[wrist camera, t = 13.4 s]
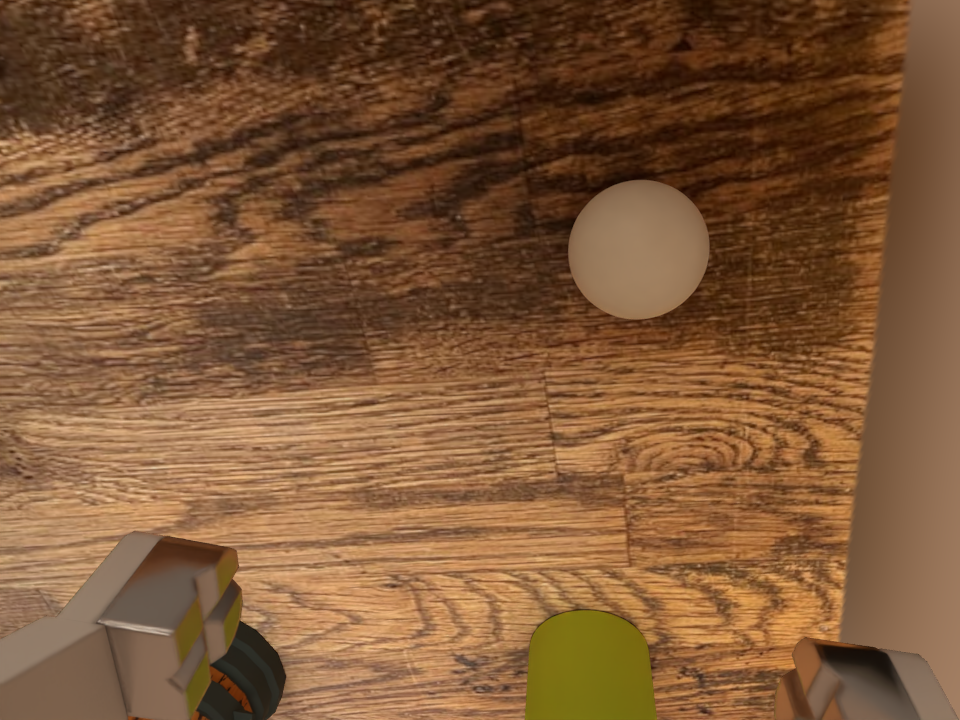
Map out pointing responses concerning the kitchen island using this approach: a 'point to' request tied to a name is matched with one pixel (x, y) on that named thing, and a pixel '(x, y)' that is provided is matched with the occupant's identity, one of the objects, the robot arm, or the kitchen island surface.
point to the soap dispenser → (589, 670)
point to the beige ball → (638, 249)
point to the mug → (242, 681)
